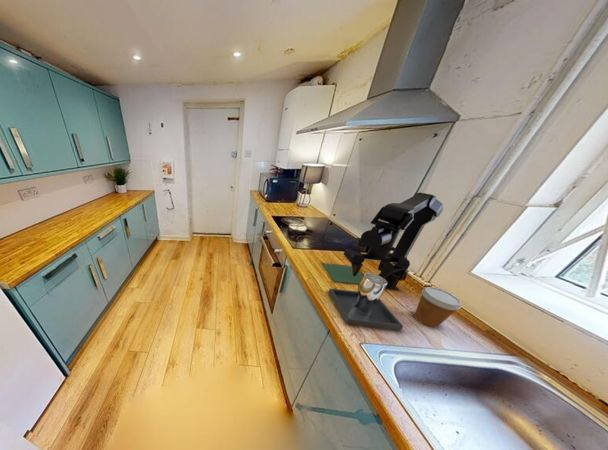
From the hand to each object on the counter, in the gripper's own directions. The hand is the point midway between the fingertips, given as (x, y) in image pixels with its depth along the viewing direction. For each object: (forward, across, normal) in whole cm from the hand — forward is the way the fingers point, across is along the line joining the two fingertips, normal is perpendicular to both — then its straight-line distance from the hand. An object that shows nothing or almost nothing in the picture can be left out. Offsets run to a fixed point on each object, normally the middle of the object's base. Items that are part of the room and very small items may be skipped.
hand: (366, 277), depth 74 cm
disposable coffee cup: (+13, -22, +4) cm, 26 cm away
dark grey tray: (+13, 0, +4) cm, 14 cm away
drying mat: (+13, -5, -19) cm, 24 cm away
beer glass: (+13, 0, +4) cm, 13 cm away
